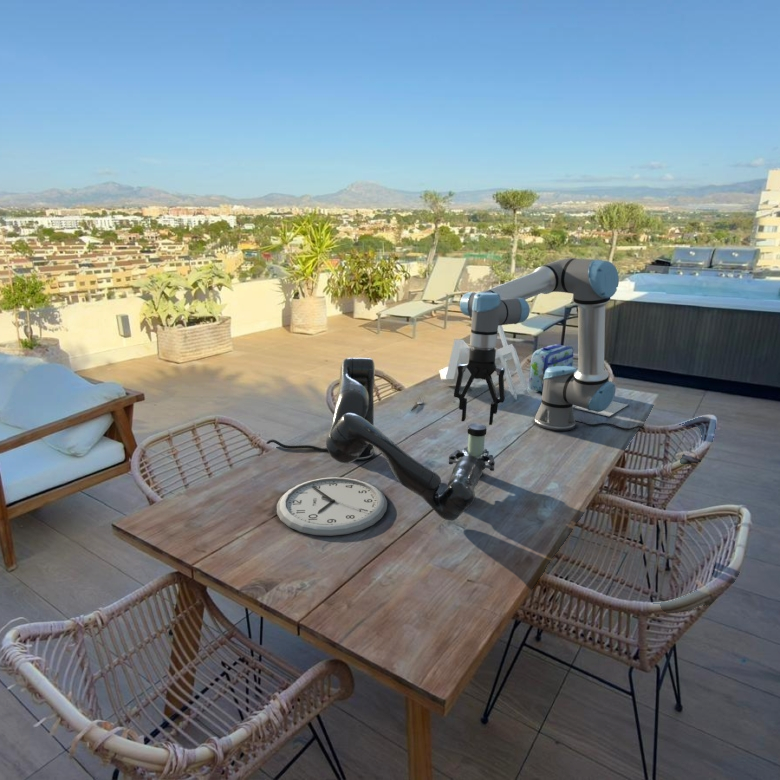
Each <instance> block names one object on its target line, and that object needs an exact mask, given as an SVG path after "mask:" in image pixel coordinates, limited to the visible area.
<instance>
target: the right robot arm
mask: <svg viewBox="0 0 780 780" xmlns="http://www.w3.org/2000/svg"><path fill="white" fill-rule="evenodd" d="M619 281H620V275H619V272H618V268H617V267H616V265H615V264H614V263H613V262H611V261H608V260H602V259H591V258H576V257H568V258H563V259H558V260H556V261H552V262H548V263H545V264H543V265H541V266H539V267H537V268H536V269H535V270H534V271H533V272H530V273H529V274H526V275H523V276H520V277H517V278H515V279H512V280H510V281H507V282H504V283H502V284H499V285H496V286H494V287H491V288H489V289H486V290H483V291H480V292H474V291H472V292H466V293H464V294H463V295H462V296H461V298H460V301H459V309H460V312H461V313H462V314H463V315H464V316H466V317H470V318H471V326H470V327H471V328H470V336H469V337H470V338H469V346H470V347H471V348H470V351H469V362H468V364H465V365H462V364H460V365H459V366H458V377H457V382H456V384H455V387H454V391H453V397H454V398H456V399H458V401H459V403H458V409H459V410H461V411H462V412H461V422H465V421H466V419H467V407H468V406H467V405H468V398H467V397H466V396H467V394H468V391H469V389H470V387H472V384H473V383H474V382H473V380H474V378H475V379H483V381H484V380H485V383H486V384H487V387H488V390H489V394H490V396H491V400H492V401H491V402H490V409H489V421H488V425H489V426H492V425H493V422H494V415H497V414H498V409H499V404H503V403H504V402H505V400H506V395H505V393H506V392H505V379H504V376H505V368H503V367H496V365H495V356H496V350H497V349H496V347H497V342H498V333H499V331H498V326H499V325H502V326H507V325H518V324H520V323H521V324H522V323H524V322H526V321H527V319H528V318H529V316H530V311H531V310H530V309H531V308H530V305H529V302H528V301H527V300H529V299H530V298H533V297H536V296H539V295H540V294H542V295H543V294H544V295H549V294H551V293H555V292H556V293H567V294H572V301H573V303H574V304H575V305H576V306H577V341H578V342H577V353H578V354H577V361H578V362H577V367H576V366H572V367H571V366H555V367H549V368H547V369H546V370H545V375H544V378H543V379H544V381H543V391H542V392H541V393H542V394H541V402H540V405H539V407H538V410H537V411H536V413H535V416H534V424H535V425H536V426H537V427H539V428H542V429H544V430H549V431H556V432H567V431H572V430H574V429H575V428H576V423H577V424H582V425H585V426H589V427H596V426H597V427H598V426H602V425H604V426H611V427H614V428H617V429H619V430H623V431H632V430H636V429H639V428H640V429H641V430H646V429H645V427H644V426H642V425H636V426H632V427H623V426H619V425H617V424H614V423H610V422H598V423H588V422H585V421H581V420H578V419H576V418H575V417H576V416H575V413H574V407H573V406H575V407H576V406H579V407H582V408H585V409H588V410H590V411H591V410H592V411H595V412H601V411H603V410H605V409H606V408H607V407H608V406H609V405H610V403H611V402H612V401H614V398H615V395H616V389H617V388H616V384H615V383H614V382H612V381H610V380H609V378H610V377H609V372H608V371H607V370H606V369H605V346H606V345H605V342H606V339H605V338H606V336H605V335H606V306H607V304H608V303H609V302H610V301H611V298H612V297H613V296H614V295H615V294H616V292H617V290H618V287H619ZM466 368H467V369H468V370H469V372H470V373H471V376H470V378H469V380H468V382H467V383H465V386H464V388H463V389H462V392H460V390H461V386H462V384H463V383H462V378H463V374H464V372H465V370H466ZM495 372H496V376H498V378H497V379H498V380H497V381H498V392H499V393H498V394H499V395H498V394H497V390H496V387H495V384H494V382H493V378H492V377H493V376H492V375H493V374H494V373H495Z"/></svg>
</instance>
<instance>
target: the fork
mask: <svg viewBox="0 0 780 780" xmlns="http://www.w3.org/2000/svg"><path fill="white" fill-rule="evenodd" d="M424 401H425V396H421V395H420V396H419V397H418V400H417V402H416V404H415V405H414V406H413V407H412V408H411V410H410V411H411V412H413V411H414V410H415V409H417V407H418V406H419V405H422V404H423V403H424Z"/></svg>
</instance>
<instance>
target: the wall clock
mask: <svg viewBox="0 0 780 780" xmlns="http://www.w3.org/2000/svg"><path fill="white" fill-rule="evenodd" d="M387 509H388V500H387V498H386V496H385V494H384V493H383V492H382V491H381V490H380V489H379V488H377V487H376V486H374V485H372V484H371V483H369V482H365V481H362V480H359V479H355V478H349V477H338V476H337V477H335V476H333V477H332V476H331V477H322V478H317V479H312V480H307V481H305V482H302V483H299V484H297V485H295V486H293V487H292V488H290V489H288V490H287V491H286V492H285V493H284V494H283V495H281V496H280V498H279V499H278V502H277V503H276V515H277V517H278V518H279V520H280V521H281V522H282V523H283V524H285V525H286V526H287V527H288V528H290V529H293V530H295V531H297V532H299V533H303V534H308V535H312V536H327V537H328V536H329V537H331V536H332V537H333V536H342V535H350V534H352V533H356V532H361V531H363V530H366V529H368V528H369V527H372V526H373V525H375V524H376V523H378V522H379V521H380V520H381V519H382V518H383V517H384V516H385V514H386V512H387Z"/></svg>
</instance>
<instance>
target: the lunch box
mask: <svg viewBox="0 0 780 780" xmlns="http://www.w3.org/2000/svg"><path fill="white" fill-rule="evenodd" d="M530 359H531V360H530V366H529V377H528V379H529V380H528V387H529V390H531V391H536V392H541V393H542V391H543V381H544V379H543V378H544V375H545V370H546V369H547V368H549V367H555V366H571V367H573V363H574V347H572V346H568V345H562V344H551V345H547V346H545V347H541V348H539V349H536V350H534V352H533V353H532V355H531V358H530Z"/></svg>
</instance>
